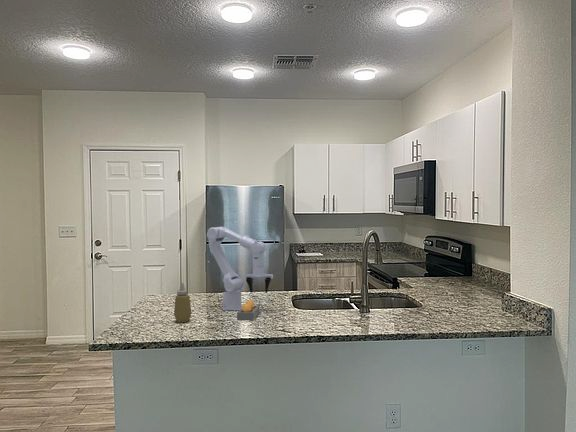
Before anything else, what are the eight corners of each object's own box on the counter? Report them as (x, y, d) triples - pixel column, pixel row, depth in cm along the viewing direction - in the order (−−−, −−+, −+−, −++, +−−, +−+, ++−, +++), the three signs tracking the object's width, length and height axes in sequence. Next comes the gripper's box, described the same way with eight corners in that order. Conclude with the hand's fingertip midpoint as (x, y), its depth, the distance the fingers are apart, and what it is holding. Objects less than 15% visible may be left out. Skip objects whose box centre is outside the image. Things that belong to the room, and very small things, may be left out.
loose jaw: (243, 316, 220) (243, 303, 220) (251, 315, 220) (251, 303, 220) (242, 318, 216) (241, 305, 216) (250, 318, 216) (250, 305, 216)
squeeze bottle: (195, 319, 217) (194, 281, 216) (185, 324, 209) (184, 284, 209) (180, 318, 220) (179, 281, 219) (170, 322, 212) (169, 284, 211)
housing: (237, 319, 215) (236, 306, 215) (244, 312, 229) (243, 299, 229) (253, 320, 214) (253, 306, 214) (259, 312, 228) (259, 299, 227)
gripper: (242, 266, 228) (243, 293, 228) (271, 267, 226) (271, 294, 226) (245, 264, 235) (246, 291, 235) (273, 265, 233) (274, 291, 233)
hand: (259, 292), depth 231 cm, fingers open, 7 cm apart
